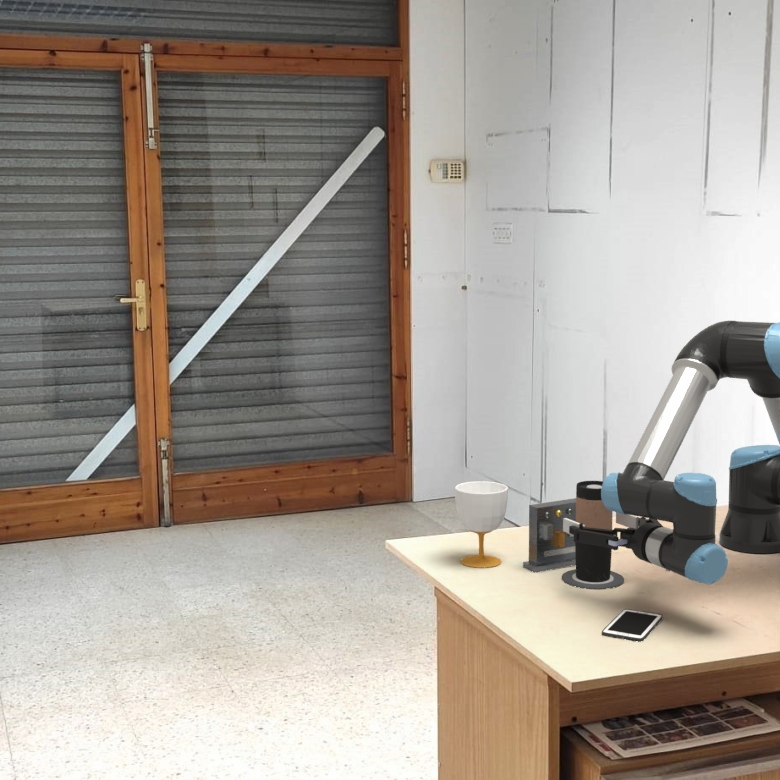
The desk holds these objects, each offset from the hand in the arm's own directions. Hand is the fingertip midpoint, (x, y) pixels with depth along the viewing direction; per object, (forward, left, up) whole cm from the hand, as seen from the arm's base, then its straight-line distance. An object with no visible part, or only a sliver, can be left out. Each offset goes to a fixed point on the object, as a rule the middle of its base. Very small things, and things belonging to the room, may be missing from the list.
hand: (591, 520), depth 236 cm
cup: (+25, +1, -13) cm, 29 cm away
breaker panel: (+10, -6, -13) cm, 17 cm away
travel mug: (-1, 0, -12) cm, 12 cm away
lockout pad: (-1, 0, -13) cm, 13 cm away
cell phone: (-18, +22, -13) cm, 31 cm away
